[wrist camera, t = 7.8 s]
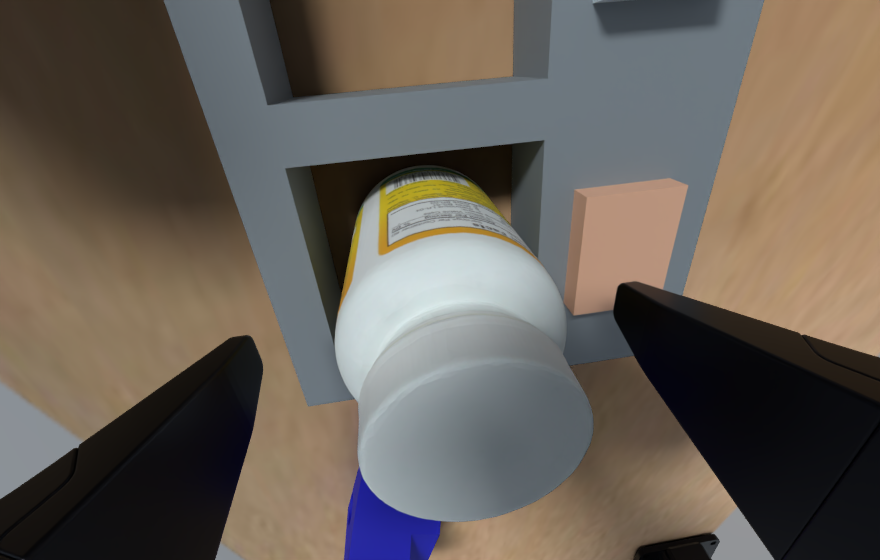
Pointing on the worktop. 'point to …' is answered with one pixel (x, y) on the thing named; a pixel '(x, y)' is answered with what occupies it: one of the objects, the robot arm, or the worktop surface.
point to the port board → (488, 124)
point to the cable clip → (385, 529)
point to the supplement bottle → (455, 354)
